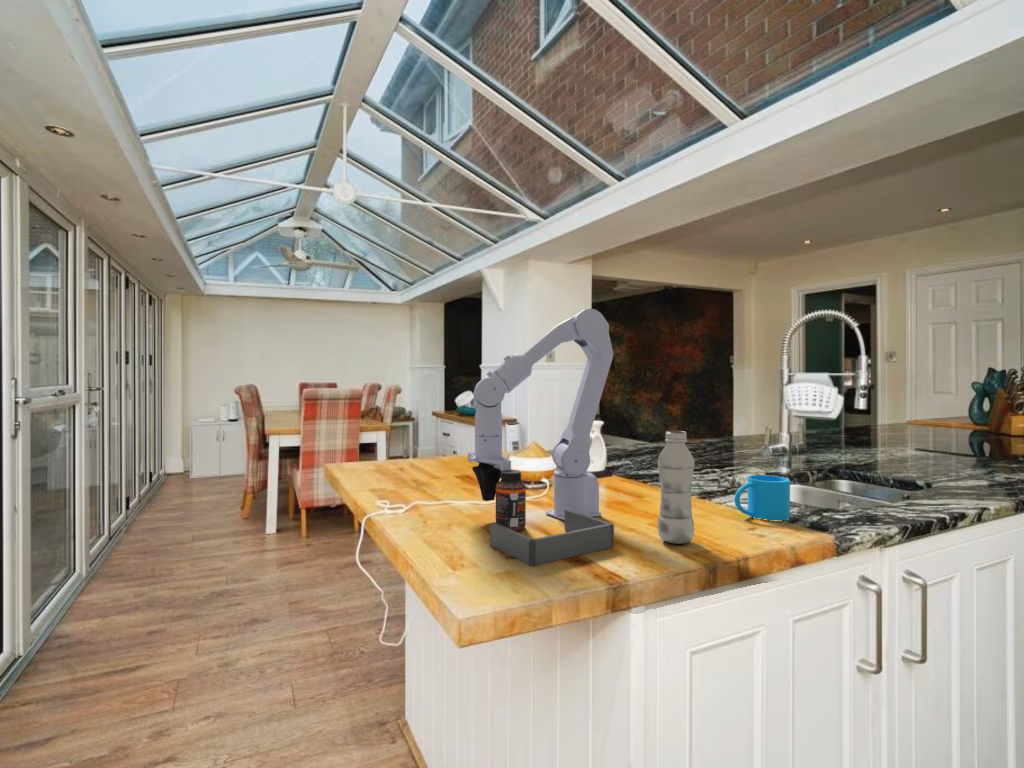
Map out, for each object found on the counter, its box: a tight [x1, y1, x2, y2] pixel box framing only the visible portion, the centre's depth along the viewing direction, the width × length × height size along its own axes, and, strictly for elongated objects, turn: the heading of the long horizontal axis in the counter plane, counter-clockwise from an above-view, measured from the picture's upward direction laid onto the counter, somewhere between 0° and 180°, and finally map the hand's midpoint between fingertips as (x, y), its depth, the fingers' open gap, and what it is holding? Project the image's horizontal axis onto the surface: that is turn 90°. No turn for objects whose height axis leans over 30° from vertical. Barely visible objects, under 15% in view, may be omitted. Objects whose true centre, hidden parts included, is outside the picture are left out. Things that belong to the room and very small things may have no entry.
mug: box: [733, 474, 791, 521], centre depth 116 cm, size 12×8×8 cm
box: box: [489, 509, 615, 567], centre depth 96 cm, size 18×13×4 cm
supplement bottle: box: [495, 469, 527, 532], centre depth 107 cm, size 6×6×11 cm
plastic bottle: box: [657, 430, 695, 545], centre depth 98 cm, size 6×7×20 cm
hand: (488, 499), depth 115 cm, fingers closed
